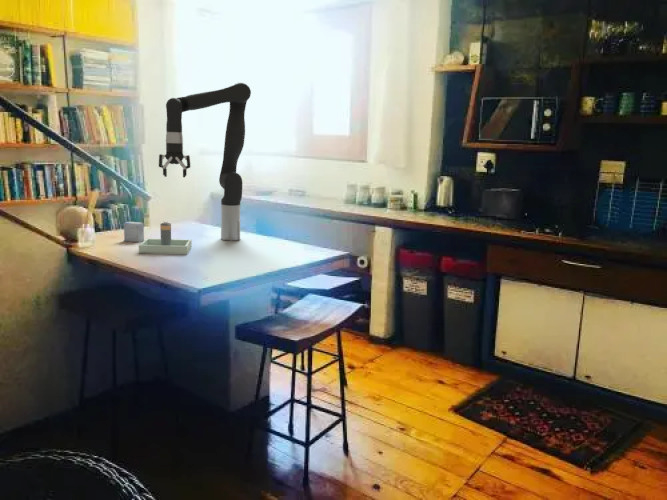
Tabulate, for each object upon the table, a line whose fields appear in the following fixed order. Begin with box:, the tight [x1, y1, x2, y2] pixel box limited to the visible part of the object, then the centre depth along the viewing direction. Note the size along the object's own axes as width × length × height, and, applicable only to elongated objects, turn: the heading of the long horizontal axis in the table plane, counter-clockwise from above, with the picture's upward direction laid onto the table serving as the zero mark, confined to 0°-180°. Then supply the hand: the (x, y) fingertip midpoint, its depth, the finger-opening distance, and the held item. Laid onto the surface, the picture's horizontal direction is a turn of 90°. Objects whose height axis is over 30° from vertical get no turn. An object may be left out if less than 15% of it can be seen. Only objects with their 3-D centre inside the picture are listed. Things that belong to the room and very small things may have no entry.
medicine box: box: [123, 221, 145, 243], centre depth 263 cm, size 8×4×9 cm, turn 74°
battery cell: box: [159, 221, 172, 246], centre depth 246 cm, size 4×4×12 cm
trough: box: [138, 238, 193, 255], centre depth 247 cm, size 20×15×4 cm
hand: (174, 176), depth 266 cm, fingers open, 8 cm apart
